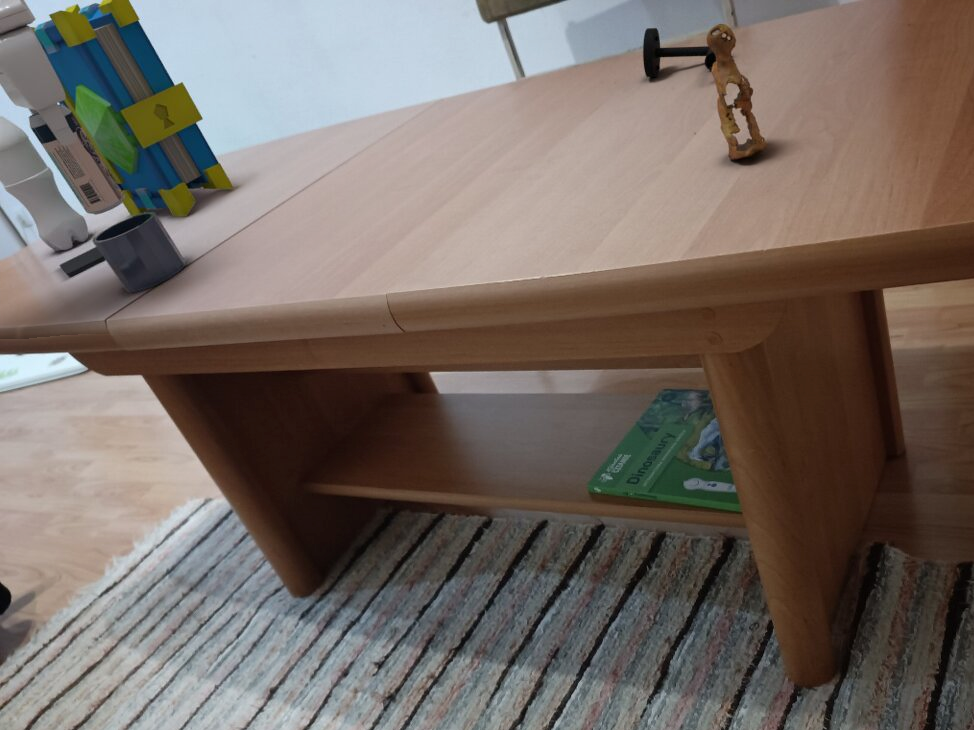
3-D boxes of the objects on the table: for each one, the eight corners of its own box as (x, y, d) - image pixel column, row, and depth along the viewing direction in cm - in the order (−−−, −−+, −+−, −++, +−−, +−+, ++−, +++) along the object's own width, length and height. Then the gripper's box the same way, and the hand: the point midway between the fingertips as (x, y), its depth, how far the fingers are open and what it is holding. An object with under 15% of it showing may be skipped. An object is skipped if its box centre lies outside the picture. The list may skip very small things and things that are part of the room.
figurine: (776, 138, 85) (753, 8, 78) (764, 162, 81) (738, 28, 74) (731, 146, 87) (704, 20, 80) (717, 170, 83) (687, 40, 76)
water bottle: (59, 256, 138) (-55, 99, 124) (46, 252, 143) (-64, 101, 129) (100, 234, 141) (-5, 79, 127) (87, 231, 146) (-16, 82, 132)
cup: (133, 297, 108) (98, 246, 104) (121, 285, 114) (87, 237, 110) (192, 266, 111) (161, 215, 107) (177, 256, 117) (146, 208, 113)
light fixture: (717, 50, 103) (730, 19, 112) (630, 53, 106) (650, 22, 115) (718, 101, 107) (730, 66, 116) (634, 102, 110) (652, 68, 119)
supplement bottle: (134, 198, 107) (73, 100, 100) (101, 216, 104) (36, 116, 97) (115, 200, 109) (54, 104, 103) (82, 217, 106) (17, 120, 100)
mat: (70, 277, 125) (67, 273, 125) (61, 268, 131) (59, 264, 131) (122, 251, 128) (119, 247, 128) (112, 243, 134) (109, 240, 134)
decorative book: (177, 223, 132) (47, 15, 114) (114, 222, 146) (-9, 36, 129) (251, 181, 139) (140, -21, 122) (185, 183, 154) (77, 3, 136)
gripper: (-50, 32, 100) (28, 148, 108) (-39, 25, 85) (51, 160, 93) (5, 12, 103) (77, 127, 111) (25, 2, 88) (107, 136, 96)
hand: (65, 142), depth 102 cm, fingers closed on supplement bottle, 5 cm apart
